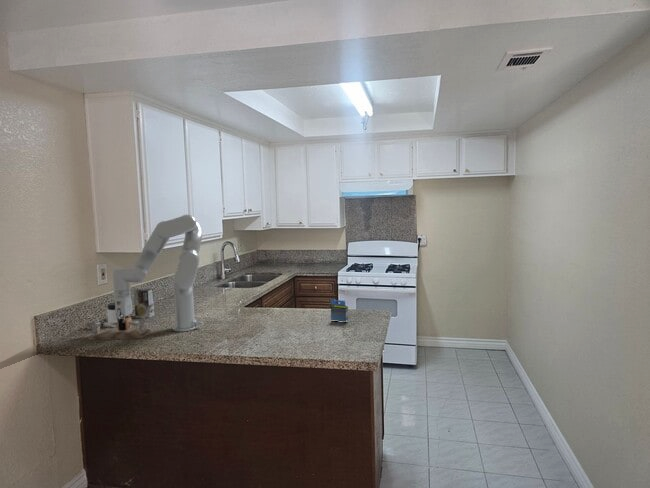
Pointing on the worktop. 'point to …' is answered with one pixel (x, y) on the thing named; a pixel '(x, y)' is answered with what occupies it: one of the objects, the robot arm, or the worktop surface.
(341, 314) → the label tape cartridge
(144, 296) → the coffee box
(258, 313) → the worktop surface
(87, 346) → the worktop surface
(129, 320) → the sleeve
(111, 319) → the jar
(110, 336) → the cube slider rail
